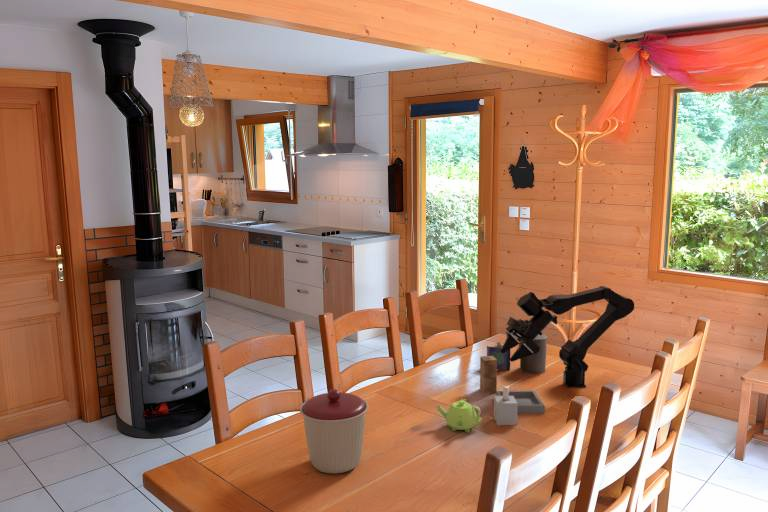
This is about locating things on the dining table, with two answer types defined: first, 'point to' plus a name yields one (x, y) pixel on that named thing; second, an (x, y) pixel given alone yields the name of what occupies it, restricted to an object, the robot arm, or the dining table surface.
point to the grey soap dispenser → (505, 408)
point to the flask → (499, 356)
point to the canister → (334, 430)
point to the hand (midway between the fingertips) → (505, 356)
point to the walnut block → (488, 374)
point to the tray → (526, 401)
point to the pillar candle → (535, 358)
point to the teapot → (461, 415)
